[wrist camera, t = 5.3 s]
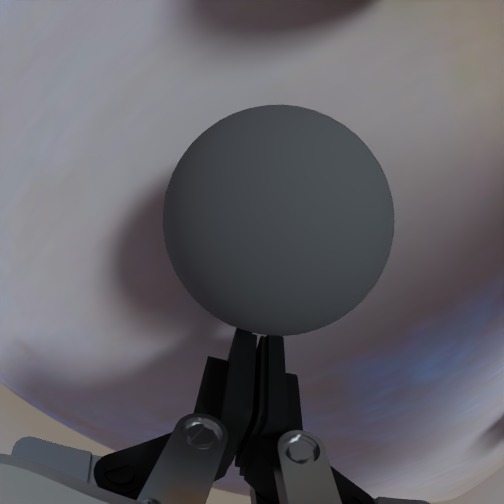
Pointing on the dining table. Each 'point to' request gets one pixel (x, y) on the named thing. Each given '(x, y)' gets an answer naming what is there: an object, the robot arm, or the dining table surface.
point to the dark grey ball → (278, 220)
